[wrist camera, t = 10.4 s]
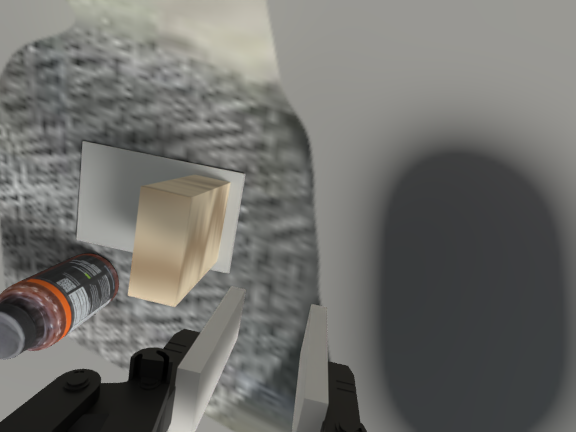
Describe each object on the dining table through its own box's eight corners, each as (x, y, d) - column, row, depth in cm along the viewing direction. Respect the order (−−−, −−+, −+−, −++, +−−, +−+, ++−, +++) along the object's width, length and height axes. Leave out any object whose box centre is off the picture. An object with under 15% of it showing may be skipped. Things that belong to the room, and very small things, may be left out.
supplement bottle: (65, 296, 37) (-43, 359, 26) (71, 245, 36) (-40, 288, 25) (117, 311, 37) (30, 381, 26) (125, 260, 36) (37, 310, 25)
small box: (194, 174, 33) (140, 186, 23) (230, 182, 33) (191, 197, 23) (182, 253, 35) (127, 295, 25) (217, 261, 34) (174, 307, 25)
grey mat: (85, 141, 34) (82, 141, 33) (245, 173, 33) (244, 174, 32) (79, 238, 36) (76, 239, 35) (229, 272, 35) (228, 273, 34)
